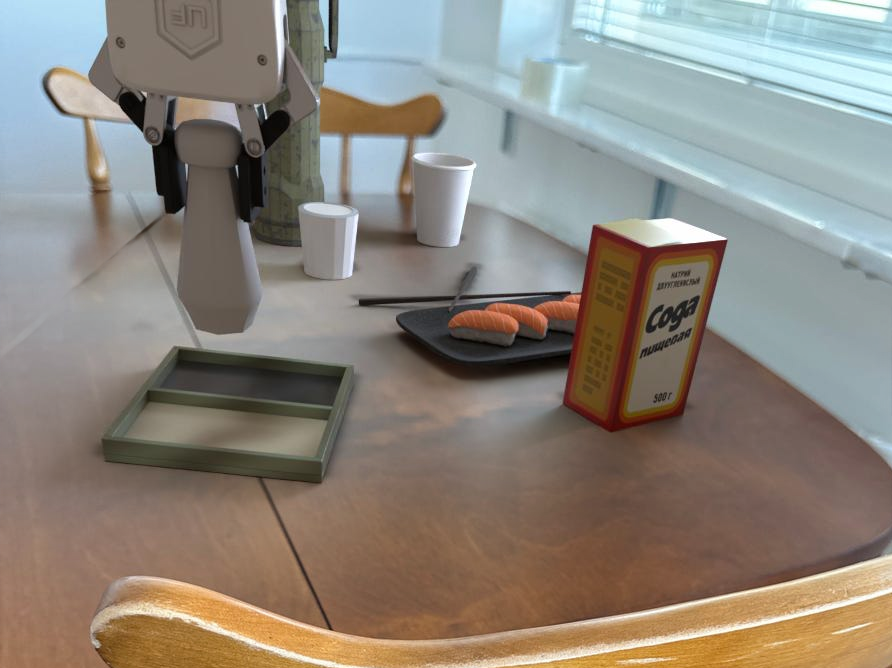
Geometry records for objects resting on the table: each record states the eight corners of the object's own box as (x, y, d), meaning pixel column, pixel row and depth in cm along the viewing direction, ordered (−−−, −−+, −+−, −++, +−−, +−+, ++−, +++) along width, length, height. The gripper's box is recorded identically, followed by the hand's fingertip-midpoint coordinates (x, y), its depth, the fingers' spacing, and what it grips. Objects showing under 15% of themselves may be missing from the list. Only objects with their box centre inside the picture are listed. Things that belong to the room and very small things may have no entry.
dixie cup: (394, 235, 125) (398, 153, 118) (441, 229, 129) (447, 150, 123) (434, 252, 120) (440, 168, 114) (481, 246, 125) (489, 165, 119)
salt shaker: (188, 308, 69) (170, 109, 61) (267, 314, 69) (259, 118, 62) (173, 335, 64) (152, 125, 56) (257, 341, 65) (248, 134, 57)
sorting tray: (104, 461, 68) (100, 438, 67) (175, 365, 83) (173, 345, 82) (321, 483, 69) (321, 461, 68) (353, 384, 84) (354, 365, 83)
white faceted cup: (368, 272, 111) (370, 209, 106) (337, 285, 106) (338, 220, 101) (319, 259, 113) (319, 197, 108) (286, 272, 107) (285, 207, 103)
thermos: (234, 226, 120) (217, -121, 99) (323, 226, 124) (324, -106, 103) (250, 246, 114) (234, -119, 92) (343, 246, 118) (348, -103, 97)
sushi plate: (458, 385, 86) (462, 345, 84) (317, 284, 105) (317, 249, 103) (682, 349, 101) (691, 314, 98) (523, 266, 119) (527, 235, 117)
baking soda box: (634, 387, 91) (672, 213, 81) (683, 414, 87) (729, 234, 77) (562, 403, 86) (593, 220, 76) (610, 432, 82) (649, 242, 72)
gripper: (7, -166, 48) (66, 212, 59) (333, -122, 49) (331, 242, 60) (61, -155, 54) (106, 186, 65) (351, -117, 54) (346, 214, 66)
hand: (213, 210), depth 62 cm, fingers closed on salt shaker, 4 cm apart
